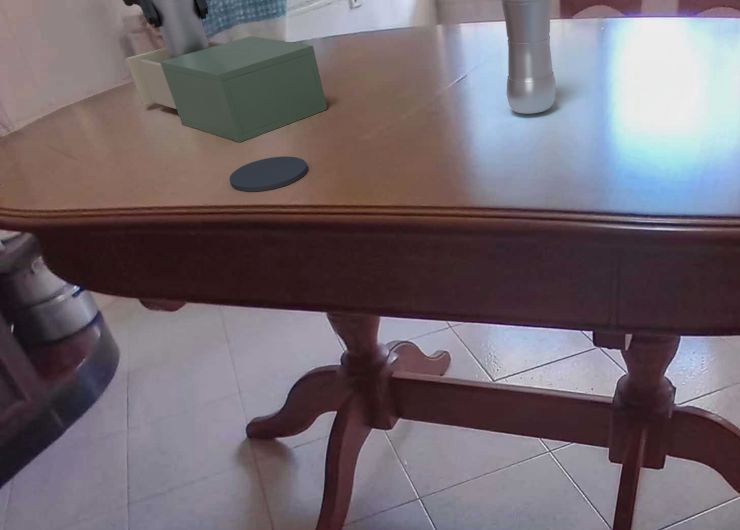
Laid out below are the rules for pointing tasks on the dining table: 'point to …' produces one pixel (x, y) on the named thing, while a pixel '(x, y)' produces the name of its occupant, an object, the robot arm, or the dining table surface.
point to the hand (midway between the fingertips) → (180, 19)
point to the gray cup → (180, 26)
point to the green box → (245, 86)
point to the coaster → (268, 174)
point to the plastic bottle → (529, 55)
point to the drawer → (153, 76)
